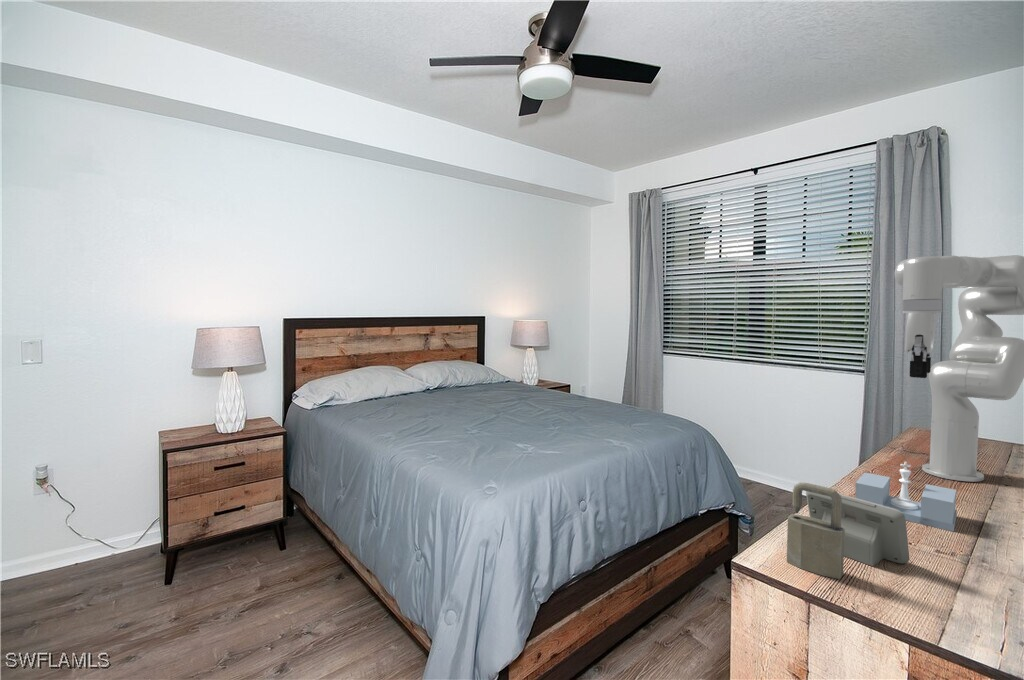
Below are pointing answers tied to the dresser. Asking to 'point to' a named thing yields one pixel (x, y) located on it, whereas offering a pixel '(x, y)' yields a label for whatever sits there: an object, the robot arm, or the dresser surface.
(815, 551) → the padlock
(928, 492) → the slot block
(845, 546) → the digital clock
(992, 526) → the dresser surface
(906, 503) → the chess piece
